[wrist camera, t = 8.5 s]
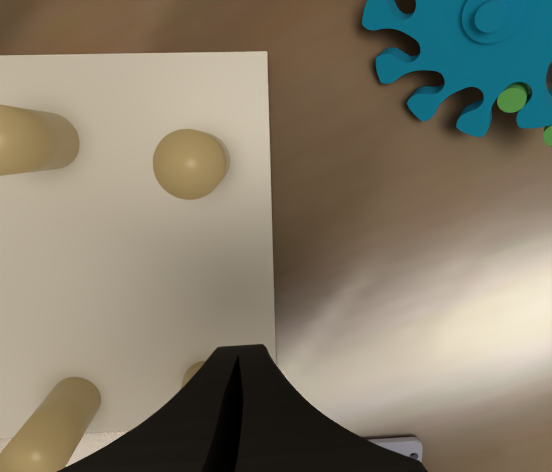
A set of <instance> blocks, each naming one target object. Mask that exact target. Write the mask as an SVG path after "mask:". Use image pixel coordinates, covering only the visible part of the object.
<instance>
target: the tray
mask: <svg viewBox="0 0 552 472" xmlns="http://www.w3.org/2000/svg"><path fill="white" fill-rule="evenodd" d="M252 344H263V345H264V346H265V347H267V350H268V352H269V354H270V356H271V358H272V359H273V361H274V363H275V364H276V345H275V310H274V275H273V240H272V205H271V170H270V135H269V100H268V65H267V51H264V52H200V53H136V54H71V55H7V56H0V439H4V438H12V440H11V441H10V442H9V443H8V444H7V446H6V447H5V448H4V449H3V451H2V452H1V454H0V472H57V471H59V470H61V469H63V468H65V466H66V464H67V463H68V461H69V459H70V457H71V456H72V454H73V452H74V450H75V449H76V447H77V445H78V444H79V442H80V440H81V438H82V437H83V435H84V434H87V433H104V432H120V431H130V430H132V429H133V428H135V427H136V426H138V425H139V424H141V423H142V422H144V421H145V420H146V419H147V418H149V417H150V416H151V415H153V414H154V413H155V412H156V411H158V410H159V409H160V408H161V407H162V406H164V405H165V404H166V403H167V402H168V401H169V400H170V399H171V398H172V397H174V396H175V395H176V394H177V393H178V392H179V391H180V390H181V389H182V388H183V387H184V386H185V385H186V383H187V382H188V381H189V380H190V379H191V378H192V377H193V376H194V374H195V373H196V372H197V371H198V370H199V369H200V368H201V366H202V365H203V364H204V363H205V361H206V360H207V359H208V358H209V356H210V355H211V354H212V353H213V352H214V350H215V349H216V348H217V347H221V346H237V345H252Z"/></svg>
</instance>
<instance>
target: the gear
mask: <svg viewBox="0 0 552 472" xmlns="http://www.w3.org/2000/svg"><path fill="white" fill-rule="evenodd" d="M362 25H363V26H364V27H365V28H367V29H369V30H379V29H386V28H390V29H396V30H399V31H402V32H404V33H406V34H408V35H409V36H411V37H412V38H414V39H415V40H417V41H418V43H419V45H420V54H418V55H416V56H410V55H408V54H406V53H404V52H403V51H401V50H400V49H398V48H394V47H390V48H387V49H385V50H383V51H382V52H381V53H380V54H379V55H378V56H377V58H376V70H377V74H378V77H379V80H380V82H381V83H384V84H389V83H392V82H394V81H395V80H397V79H398V78H399V77H401V76H402V75H404V74H406V73H409V72H412V71H417V70H430V71H437V72H439V73H441V74H442V76H443V77H444V81H445V84H444V85H442V86H439V87H431V86H423V87H420V88H418V89H417V90H415V92H414V93H413V94H412V96H411V97H410V99H409V100H408V102H407V105H408V107H409V109H410V110H411V111H412V113H413V114H414V115H415V116H416V117H417V118H419V119H420V120H421V121H426V120H429V119H430V118H432V116H433V115H434V114H435V112H436V110H437V108H438V107H439V105H440V104H441V102H442V101H443V100H444V99H446V98H447V97H448V96H450V95H451V94H453V93H455V92H457V91H459V90H462V89H464V88H467V87H476V88H478V89H480V90H481V91H482V93H483V95H484V98H483V99H482V100H480V101H478V102H475V103H473V104H470V105H468V106H467V107H465V108H464V109H463V111H462V112H461V114H460V117H459V119H458V121H457V124H456V128H457V129H459V130H460V131H462V132H464V133H466V134H469V135H472V136H477V137H482V136H483V135H485V133H486V132H487V131H488V129H489V126H490V123H491V120H492V106H493V103H494V102H495V100H496V99H497V97H498V96H499V97H498V100H497V104H498V107H499V108H500V109H501V110H502V111H504V112H507V113H513V112H517V111H518V114H517V118H516V119H517V124H518V126H519V127H520V128H539V127H544V126H545V128H544V134H543V140H544V142H545V143H546V144H547V145H549V146H551V147H552V0H416V9H415V12H414V13H411V14H405V13H403V12H401V11H400V10H399V9H398V7H397V5H396V3H395V1H394V0H367V2H366V5H365V8H364V12H363V19H362Z"/></svg>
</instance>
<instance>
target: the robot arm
mask: <svg viewBox="0 0 552 472" xmlns="http://www.w3.org/2000/svg"><path fill="white" fill-rule="evenodd" d="M422 450H423V447H422V444H421V442H420V441H419V439H418V438H416V437H403V438H387V439H371V440H366V439H364V438H362V437H360V436H358V435H356V434H354V433H352V432H351V431H349V430H347V429H345V428H343V427H342V426H340V425H339V424H337V423H336V422H334V421H333V420H331V419H329V418H328V417H326V416H325V415H324V414H322V413H321V412H320V411H318V410H317V409H316V408H315V407H313V406H312V405H311V404H310V403H309V402H308V401H307V400H306V399H305V398H304V397H303V396H301V394H300V393H299V392H298V391H297V390H296V389H295V388H294V387H293V386H292V385H291V384H290V382H289V381H288V380H287V379H286V378H285V376H284V375H283V374H282V372H281V371H280V370H279V368H278V367H277V366H276V364H275V363H274V361H273V359H272V358H271V356H270V354H269V352H268V350H267V347H265V346H264V345H263V344H252V345H237V346H221V347H217V348H216V349H215V350H214V352H213V353H212V354H211V355H210V356H209V358H208V359H207V360H206V361H205V363H204V364H203V365H202V366H201V368H200V369H199V370H198V371H197V372H196V373H195V374H194V376H193V377H192V378H191V379H190V380H189V381H188V382H187V383H186V385H185V386H184V387H183V388H182V389H181V390H180V391H179V392H178V393H177V394H176V395H175V396H174V397H172V398H171V399H170V400H169V401H168V402H167V403H166V404H165V405H164V406H162V407H161V408H160V409H159V410H158V411H156V412H155V413H154V414H153V415H151V416H150V417H149V418H147V419H146V420H145V421H144V422H142V423H141V424H139V425H138V426H136V427H135V428H133V429H132V430H130V431H129V432H127V433H126V434H124V435H123V436H121V437H120V438H118V439H116V440H115V441H113V442H112V443H110V444H109V445H107V446H105V447H103V448H102V449H100V450H98V451H96V452H95V453H93V454H91V455H89V456H87V457H85V458H83V459H81V460H79V461H77V462H75V463H73V464H72V465H70V466H67V467H65V468H63V469H61V470H59V471H57V472H428V471H427V470H426V469H425V467H424V466H423V465H422ZM411 453H415V454H414V455H412V456H410V454H411Z"/></svg>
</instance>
